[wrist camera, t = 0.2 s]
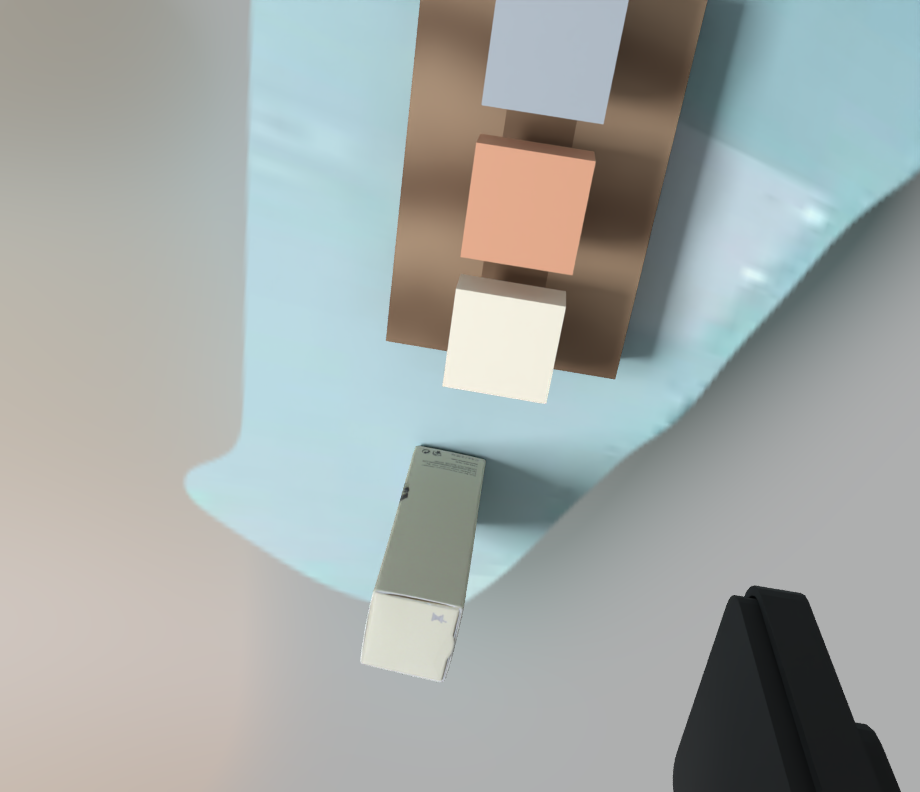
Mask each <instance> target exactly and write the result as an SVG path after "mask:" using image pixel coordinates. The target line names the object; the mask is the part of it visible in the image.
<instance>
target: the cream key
mask: <svg viewBox="0 0 920 792" xmlns="http://www.w3.org/2000/svg"><path fill="white" fill-rule="evenodd" d="M565 309H566V291H561V290H555V289H549V288H543V287H537V286H531V285H525V284H519V283H513V282H507V281H500V280H494V279H488V278H482V277H476V276H470V275H464V274H461V275H460V278H459V281H458V284H457V287H456V292H455V300H454V307H453V314H452V321H451V328H450V336H449V343H448V350H447V357H446V365H445V372H444V379H443V387H449V388H455V389H461V390H466V391H472V392H478V393H484V394H490V395H496V396H502V397H508V398H514V399H520V400H525V401H531V402H537V403H543V404H546V402H547V397H548V392H549V388H550V383H551V378H552V373H553V368H554V363H555V358H556V353H557V348H558V344H559V339H560V334H561V329H562V324H563V319H564V314H565Z"/></svg>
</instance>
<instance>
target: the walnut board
mask: <svg viewBox="0 0 920 792" xmlns="http://www.w3.org/2000/svg"><path fill="white" fill-rule="evenodd" d="M495 3H496V0H420V8H419V18H418V28H417V38H416V48H415V58H414V68H413V78H412V88H411V98H410V108H409V117H408V127H407V137H406V147H405V157H404V167H403V177H402V187H401V197H400V207H399V217H398V227H397V236H396V246H395V256H394V266H393V276H392V286H391V296H390V306H389V316H388V326H387V336H386V341H390V342H396V343H402V344H408V345H414V346H420V347H426V348H432V349H438V350H444V351H447V350H448V343H449V336H450V328H451V321H452V314H453V307H454V300H455V292H456V287H457V284H458V281H459V278H460V275H461V274H464V275H470V276H476V277H482V278H488V279H494V280H500V281H507V282H513V283H519V284H525V285H531V286H537V287H543V288H549V289H555V290H561V291H566V309H565V314H564V319H563V324H562V329H561V334H560V339H559V344H558V348H557V353H556V358H555V363H554V368H553V369H557V370H563V371H568V372H574V373H580V374H586V375H592V376H598V377H604V378H610V379H615V378H616V374H617V370H618V365H619V361H620V357H621V353H622V349H623V345H624V341H625V337H626V333H627V329H628V324H629V320H630V316H631V312H632V308H633V304H634V300H635V296H636V292H637V288H638V283H639V279H640V275H641V271H642V267H643V263H644V259H645V255H646V251H647V247H648V242H649V238H650V234H651V230H652V226H653V222H654V218H655V214H656V210H657V206H658V201H659V197H660V193H661V189H662V185H663V181H664V177H665V173H666V169H667V165H668V160H669V156H670V152H671V148H672V144H673V140H674V136H675V132H676V128H677V123H678V119H679V115H680V111H681V107H682V103H683V99H684V95H685V91H686V87H687V82H688V78H689V74H690V70H691V66H692V62H693V58H694V54H695V50H696V46H697V41H698V37H699V33H700V29H701V25H702V21H703V17H704V13H705V9H706V5H707V0H629V1H628V6H627V11H626V16H625V21H624V26H623V31H622V36H621V41H620V45H619V50H618V55H617V60H616V65H615V70H614V75H613V80H612V85H611V89H610V94H609V99H608V104H607V109H606V114H605V119H604V124H598V123H591V122H585V121H579V120H572V119H566V118H560V117H553V116H547V115H541V114H534V113H528V112H522V111H515V110H509V109H502V108H496V107H490V106H483V105H482V97H483V90H484V83H485V76H486V68H487V61H488V54H489V47H490V40H491V32H492V25H493V18H494V11H495ZM480 134H487V135H493V136H499V137H506V138H512V139H518V140H525V141H531V142H537V143H544V144H550V145H556V146H563V147H569V148H575V149H581V150H588V151H594V152H595V160H596V163H595V168H594V172H593V177H592V182H591V187H590V192H589V197H588V202H587V207H586V212H585V216H584V221H583V226H582V231H581V236H580V241H579V246H578V251H577V256H576V260H575V265H574V270H573V275H567V274H561V273H555V272H549V271H543V270H536V269H530V268H524V267H518V266H512V265H506V264H500V263H494V262H488V261H482V260H475V259H469V258H463V257H460V256H461V249H462V242H463V235H464V227H465V220H466V213H467V206H468V198H469V191H470V184H471V177H472V170H473V162H474V155H475V148H476V142H477V140H478V138H479V136H480Z"/></svg>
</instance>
